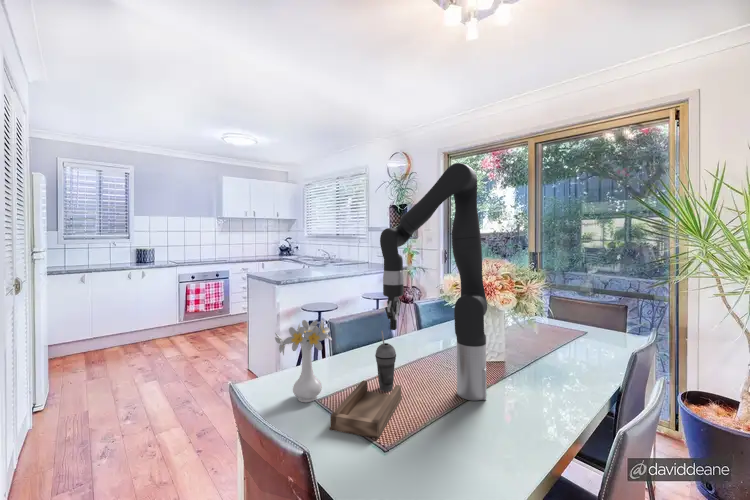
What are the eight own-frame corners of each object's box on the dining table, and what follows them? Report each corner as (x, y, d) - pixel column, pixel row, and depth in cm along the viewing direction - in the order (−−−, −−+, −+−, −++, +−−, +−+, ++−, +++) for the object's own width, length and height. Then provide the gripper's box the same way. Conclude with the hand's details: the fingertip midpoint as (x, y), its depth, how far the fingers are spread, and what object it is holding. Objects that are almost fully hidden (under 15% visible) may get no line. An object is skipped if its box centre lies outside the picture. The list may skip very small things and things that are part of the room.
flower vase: (270, 401, 110) (268, 323, 109) (320, 384, 122) (318, 314, 121) (289, 417, 100) (287, 331, 100) (341, 397, 112) (340, 321, 112)
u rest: (402, 397, 111) (402, 385, 111) (378, 438, 89) (378, 423, 89) (361, 392, 116) (361, 380, 116) (329, 429, 93) (329, 415, 93)
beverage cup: (395, 394, 114) (394, 334, 113) (373, 392, 116) (372, 333, 115) (398, 385, 121) (397, 328, 121) (377, 383, 123) (377, 327, 122)
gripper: (398, 285, 119) (398, 335, 120) (407, 280, 132) (407, 325, 132) (377, 284, 122) (378, 333, 122) (388, 280, 134) (388, 324, 135)
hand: (393, 329), depth 127 cm, fingers closed
